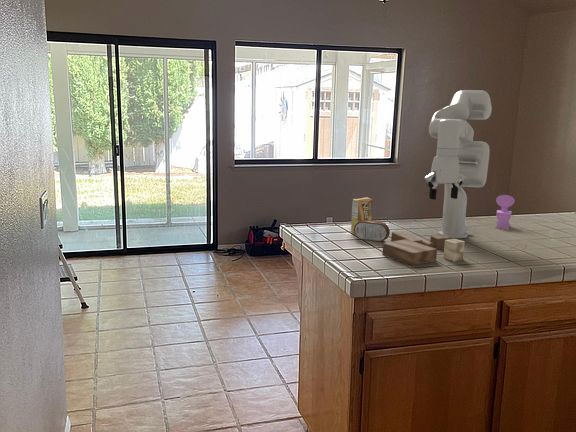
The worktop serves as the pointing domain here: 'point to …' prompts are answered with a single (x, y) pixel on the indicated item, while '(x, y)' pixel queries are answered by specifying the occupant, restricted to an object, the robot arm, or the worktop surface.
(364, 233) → the tin
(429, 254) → the walnut block
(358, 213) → the candy box
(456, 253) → the maple block
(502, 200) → the toy chair
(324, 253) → the worktop surface
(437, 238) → the wooden block set
